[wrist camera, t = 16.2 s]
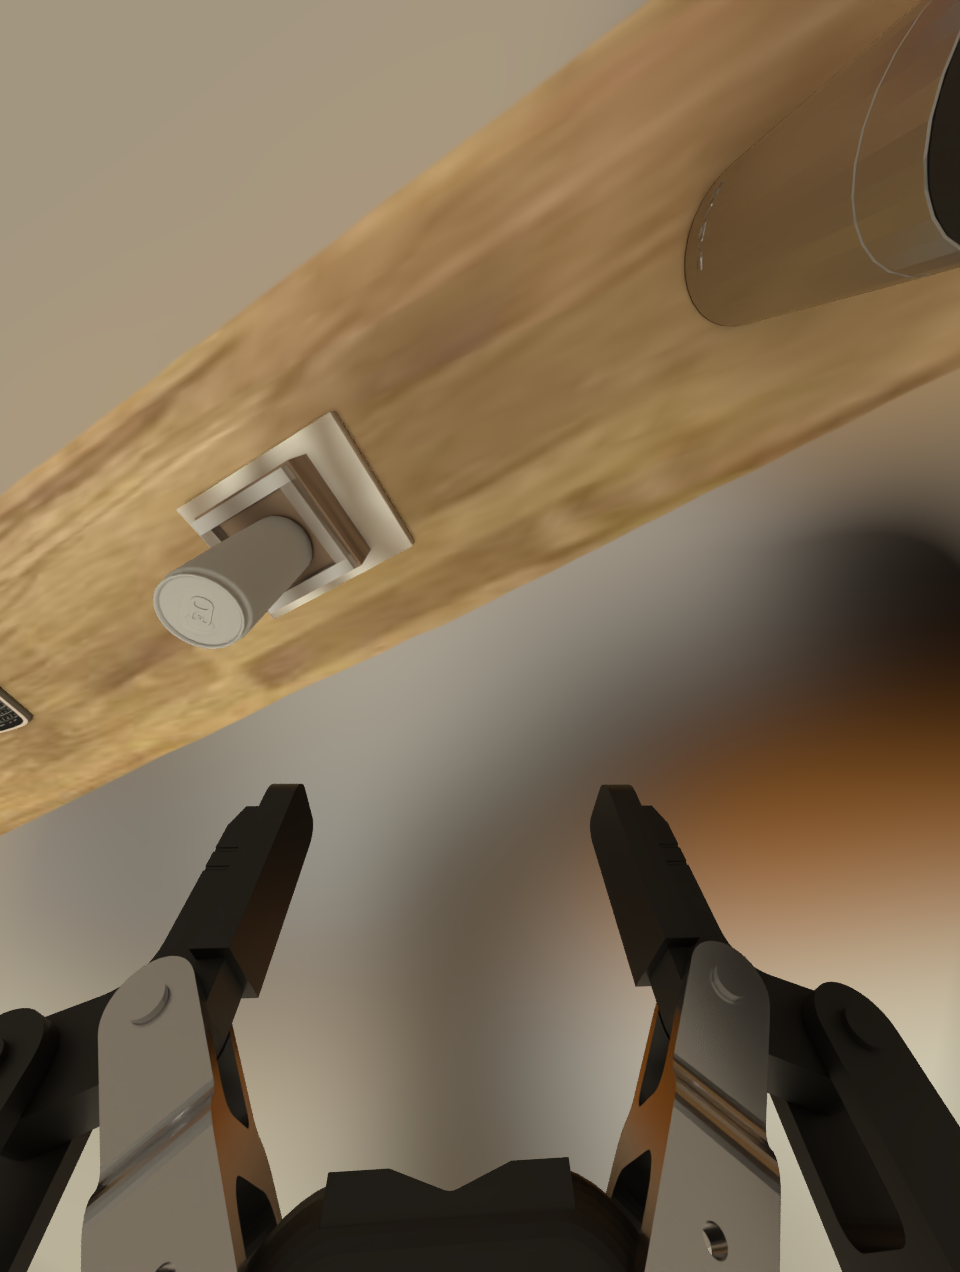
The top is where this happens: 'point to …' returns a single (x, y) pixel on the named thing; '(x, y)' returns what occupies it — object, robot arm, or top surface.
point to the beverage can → (232, 583)
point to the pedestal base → (308, 507)
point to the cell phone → (12, 713)
